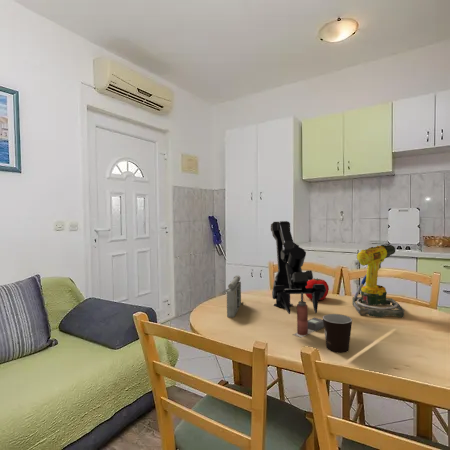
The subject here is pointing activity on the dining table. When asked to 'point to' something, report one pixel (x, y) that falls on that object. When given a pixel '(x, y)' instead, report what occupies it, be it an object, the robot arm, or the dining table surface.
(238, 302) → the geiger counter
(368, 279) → the cordless drill
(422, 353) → the dining table surface
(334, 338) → the coffee mug
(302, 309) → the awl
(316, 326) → the finder
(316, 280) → the tomato
